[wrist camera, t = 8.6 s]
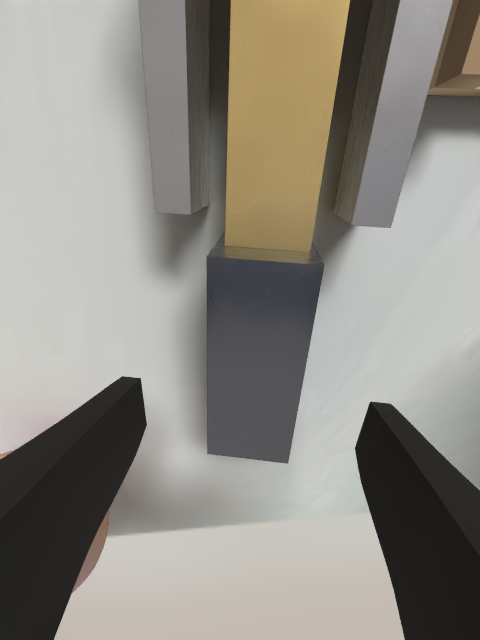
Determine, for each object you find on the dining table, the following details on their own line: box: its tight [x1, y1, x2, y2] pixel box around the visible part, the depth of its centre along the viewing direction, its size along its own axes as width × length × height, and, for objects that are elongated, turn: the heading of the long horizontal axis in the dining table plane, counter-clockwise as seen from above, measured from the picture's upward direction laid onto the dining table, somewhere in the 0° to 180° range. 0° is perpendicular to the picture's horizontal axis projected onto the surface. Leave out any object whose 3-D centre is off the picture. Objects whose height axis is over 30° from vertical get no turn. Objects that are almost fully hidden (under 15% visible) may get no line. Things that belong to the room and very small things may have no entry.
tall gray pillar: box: [207, 233, 324, 463], centre depth 14 cm, size 4×11×4 cm, turn 177°
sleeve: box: [138, 0, 453, 228], centre depth 9 cm, size 8×7×3 cm
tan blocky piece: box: [225, 0, 350, 252], centre depth 8 cm, size 7×10×5 cm
